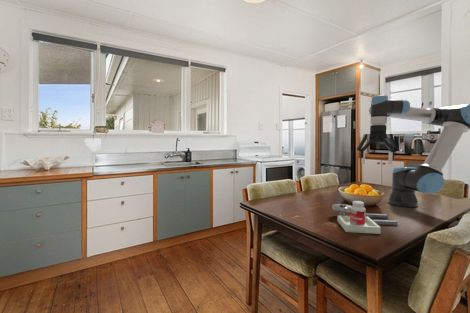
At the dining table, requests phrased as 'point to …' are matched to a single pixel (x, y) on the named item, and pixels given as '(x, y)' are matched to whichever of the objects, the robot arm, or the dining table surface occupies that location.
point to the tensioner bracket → (381, 222)
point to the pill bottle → (357, 213)
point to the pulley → (341, 208)
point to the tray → (368, 228)
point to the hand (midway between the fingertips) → (376, 164)
